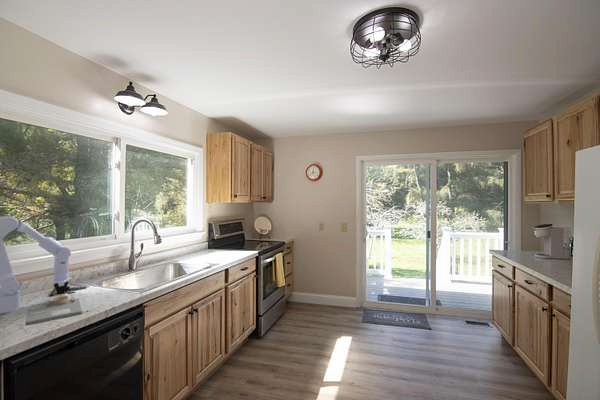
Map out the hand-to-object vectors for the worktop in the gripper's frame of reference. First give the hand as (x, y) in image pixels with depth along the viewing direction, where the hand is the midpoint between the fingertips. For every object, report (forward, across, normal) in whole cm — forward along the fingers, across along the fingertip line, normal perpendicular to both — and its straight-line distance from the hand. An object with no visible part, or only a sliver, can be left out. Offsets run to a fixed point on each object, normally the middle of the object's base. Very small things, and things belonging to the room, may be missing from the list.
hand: (60, 297), depth 140 cm
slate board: (+2, -15, +2) cm, 16 cm away
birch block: (+1, -7, 0) cm, 7 cm away
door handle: (+3, +17, -3) cm, 18 cm away
